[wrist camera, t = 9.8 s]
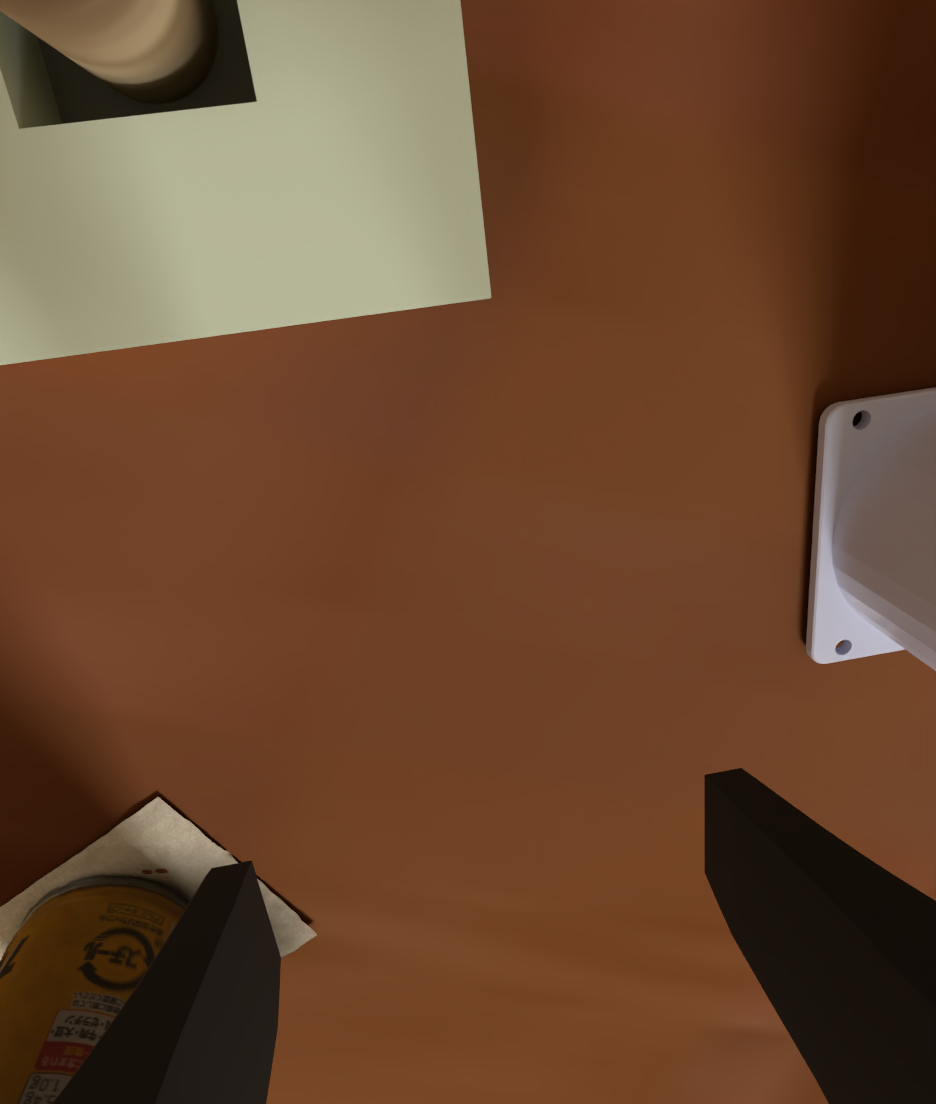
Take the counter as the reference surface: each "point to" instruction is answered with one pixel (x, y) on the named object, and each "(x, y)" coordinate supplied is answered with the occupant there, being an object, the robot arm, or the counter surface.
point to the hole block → (241, 181)
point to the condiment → (99, 943)
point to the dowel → (129, 41)
